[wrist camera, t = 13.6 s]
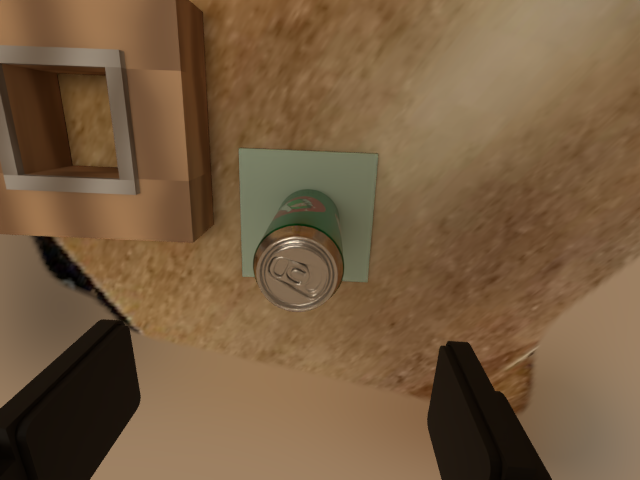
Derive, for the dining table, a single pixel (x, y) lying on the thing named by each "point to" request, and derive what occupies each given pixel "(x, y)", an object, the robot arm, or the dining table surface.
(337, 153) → the mat
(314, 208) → the soda can
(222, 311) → the dining table surface
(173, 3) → the housing
